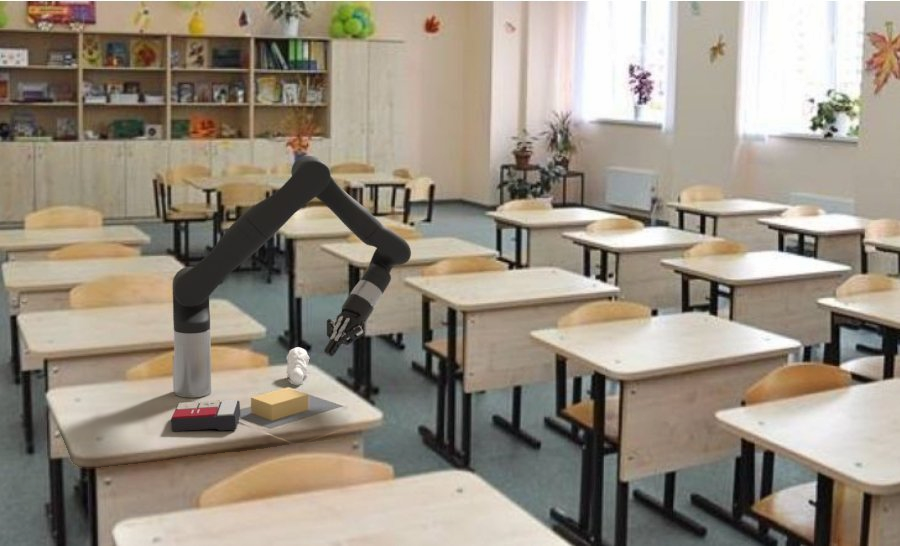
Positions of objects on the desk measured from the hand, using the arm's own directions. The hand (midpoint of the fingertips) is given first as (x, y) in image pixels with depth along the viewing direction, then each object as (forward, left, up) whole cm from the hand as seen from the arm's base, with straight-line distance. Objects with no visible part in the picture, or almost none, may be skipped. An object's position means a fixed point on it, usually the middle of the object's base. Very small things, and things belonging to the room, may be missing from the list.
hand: (327, 354), depth 275 cm
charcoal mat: (0, -14, -12) cm, 18 cm away
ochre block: (0, -10, -10) cm, 14 cm away
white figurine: (-17, +5, -12) cm, 22 cm away
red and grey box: (-6, -34, -12) cm, 36 cm away
